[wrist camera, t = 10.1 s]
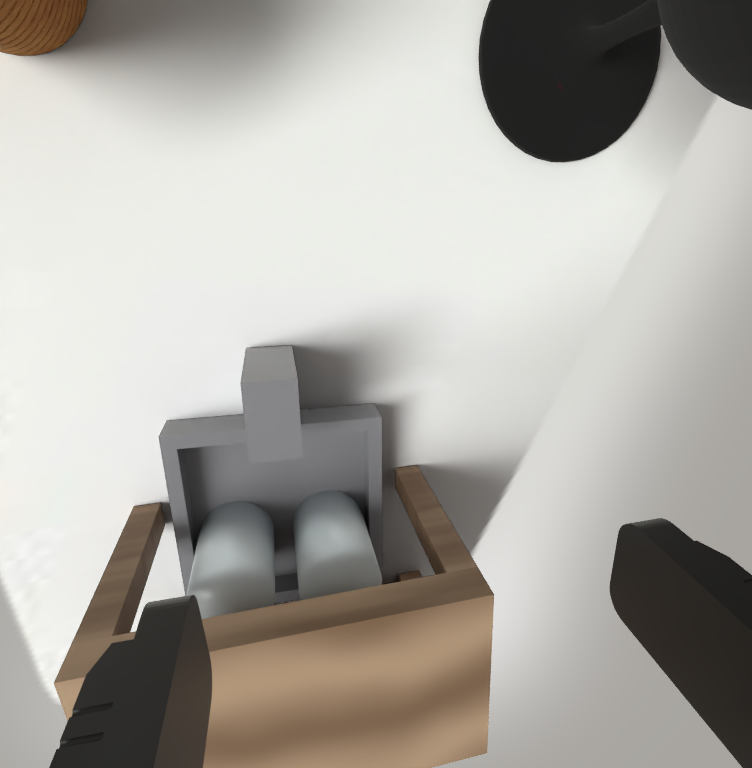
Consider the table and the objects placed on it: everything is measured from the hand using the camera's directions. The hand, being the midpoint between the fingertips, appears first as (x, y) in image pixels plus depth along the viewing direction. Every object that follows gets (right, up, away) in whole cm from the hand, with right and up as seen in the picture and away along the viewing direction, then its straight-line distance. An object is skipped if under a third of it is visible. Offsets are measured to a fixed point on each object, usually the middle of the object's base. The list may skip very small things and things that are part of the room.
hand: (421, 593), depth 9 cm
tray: (-7, -1, +21) cm, 23 cm away
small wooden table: (-6, -7, +23) cm, 25 cm away
